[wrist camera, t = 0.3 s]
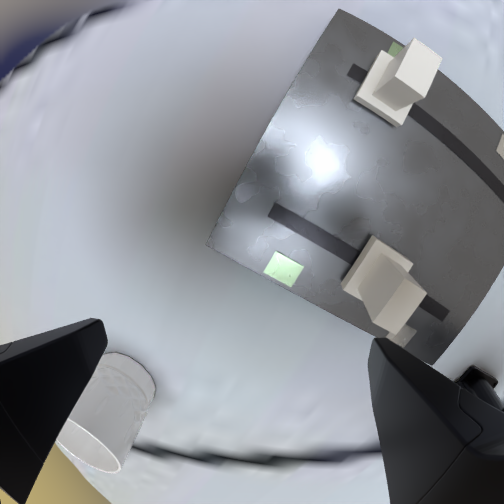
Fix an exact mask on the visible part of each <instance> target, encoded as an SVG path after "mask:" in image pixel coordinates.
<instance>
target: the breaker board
mask: <svg viewBox="0 0 504 504" xmlns="http://www.w3.org/2000/svg"><path fill="white" fill-rule="evenodd" d="M404 47H405V45H403V44H402V43H400V42H398V41H397V40H395V39H394V38H392V37H391V36H389V35H387V34H386V33H384V32H382V31H381V30H379V29H377V28H375V27H374V26H372V25H370V24H368V23H366V22H365V21H363V20H361V19H359V18H357V17H355V16H353V15H351V14H349V13H347V12H345V11H343V10H341V9H338V11H337V12H336V14H335V15H334V17H333V18H332V20H331V21H330V23H329V25H328V26H327V28H326V29H325V31H324V32H323V34H322V36H321V37H320V39H319V40H318V42H317V44H316V45H315V47H314V49H313V50H312V52H311V53H310V55H309V57H308V58H307V60H306V62H305V63H304V65H303V67H302V68H301V70H300V72H299V73H298V75H297V77H296V78H295V80H294V82H293V83H292V85H291V87H290V89H289V90H288V92H287V94H286V95H285V97H284V99H283V101H282V102H281V104H280V106H279V108H278V109H277V111H276V113H275V115H274V116H273V118H272V120H271V122H270V124H269V125H268V127H267V129H266V131H265V133H264V134H263V136H262V138H261V140H260V142H259V143H258V145H257V147H256V149H255V151H254V153H253V154H252V156H251V158H250V160H249V162H248V164H247V166H246V167H245V169H244V171H243V173H242V175H241V177H240V179H239V181H238V183H237V184H236V186H235V188H234V190H233V192H232V194H231V196H230V198H229V200H228V202H227V204H226V206H225V208H224V210H223V212H222V213H221V215H220V217H219V219H218V221H217V223H216V225H215V227H214V229H213V231H212V233H211V235H210V237H209V239H208V241H207V243H206V245H207V246H208V247H210V248H212V249H214V250H216V251H217V252H219V253H221V254H223V255H225V256H226V257H228V258H230V259H232V260H234V261H236V262H237V263H239V264H241V265H243V266H245V267H246V268H248V269H250V270H252V271H254V272H256V273H257V274H259V275H261V276H263V277H265V278H267V279H268V280H270V281H272V282H274V283H276V284H278V285H279V286H281V287H283V288H285V289H287V290H289V291H291V292H292V293H294V294H296V295H298V296H300V297H302V298H304V299H305V300H307V301H309V302H311V303H313V304H315V305H317V306H318V307H320V308H322V309H324V310H326V311H328V312H330V313H332V314H333V315H335V316H337V317H339V318H341V319H343V320H345V321H347V322H349V323H351V324H352V325H354V326H356V327H358V328H360V329H362V330H364V331H366V332H368V333H370V334H371V335H373V336H375V337H377V338H380V337H386V338H388V339H390V340H391V341H393V342H394V343H396V344H397V345H399V346H400V347H402V348H403V349H405V350H406V351H408V352H409V353H411V354H412V355H414V356H415V357H417V358H418V359H420V360H422V361H424V362H426V363H428V364H430V365H433V364H434V363H435V362H436V361H437V360H438V359H439V357H440V356H441V355H442V354H443V353H444V351H445V350H446V349H447V348H448V347H449V345H450V344H451V343H452V342H453V340H454V339H455V338H456V336H457V335H458V334H459V333H460V331H461V330H462V329H463V327H464V326H465V325H466V323H467V322H468V320H469V319H470V318H471V316H472V315H473V313H474V312H475V311H476V309H477V308H478V306H479V305H480V303H481V302H482V300H483V299H484V297H485V296H486V294H487V293H488V291H489V289H490V288H491V286H492V285H493V283H494V281H495V280H496V278H497V276H498V275H499V273H500V271H501V269H502V268H503V266H504V131H503V130H502V129H501V128H500V127H499V126H498V125H497V124H496V122H495V121H494V120H493V119H492V118H491V117H490V116H489V115H488V114H487V113H486V112H485V111H484V110H483V109H482V108H481V107H480V106H479V105H478V104H477V103H476V102H475V101H474V100H473V99H472V98H471V97H469V96H468V95H467V94H466V93H465V92H464V91H463V90H462V89H461V88H459V87H458V86H457V85H456V84H455V83H454V82H452V81H451V80H450V79H449V78H448V77H446V76H445V75H444V74H443V73H442V72H440V71H439V70H437V72H436V74H435V77H434V79H433V81H432V83H431V86H430V88H429V90H428V92H427V94H426V96H425V98H423V99H421V100H419V101H417V102H414V103H413V105H412V107H411V109H410V111H409V113H408V115H407V117H406V119H405V121H404V122H403V124H402V125H401V126H398V127H395V126H394V125H392V124H391V123H390V122H388V121H387V120H385V119H384V118H382V117H381V116H379V115H378V114H376V113H375V112H373V111H372V110H370V109H368V108H367V107H365V106H364V105H362V104H360V103H359V102H357V101H356V100H354V97H355V95H356V93H357V91H358V90H359V88H360V86H361V84H362V82H363V81H364V79H365V77H366V75H367V73H368V71H369V70H370V68H371V66H372V64H373V62H374V60H375V59H376V57H377V55H378V54H379V53H380V51H381V50H383V51H384V52H386V53H387V54H389V55H391V56H392V57H395V56H396V55H397V54H398V53H399V52H400V51H401V50H402V49H403V48H404ZM372 235H373V236H375V237H376V238H378V239H379V240H381V241H382V242H384V243H385V244H387V245H388V246H390V247H391V248H393V249H394V250H396V251H397V252H399V253H400V254H402V255H403V256H405V257H406V258H408V259H409V260H410V261H411V262H412V263H413V266H412V267H411V269H410V270H409V272H408V273H409V274H410V275H411V276H412V277H413V278H414V279H415V280H416V281H417V283H418V284H419V285H420V286H421V287H422V288H423V289H424V290H425V291H426V292H427V294H426V296H425V297H424V299H423V300H422V301H421V303H420V304H419V306H418V307H417V308H416V310H415V311H414V312H413V314H412V315H411V316H410V318H409V319H408V320H407V322H406V323H405V324H404V325H403V327H402V328H401V329H400V331H399V332H398V333H397V334H396V335H395V334H393V333H391V332H389V331H387V330H386V329H384V328H382V327H380V326H378V325H376V324H375V323H373V322H372V320H371V318H370V315H369V313H368V311H367V309H366V307H365V305H364V302H363V301H361V300H360V299H358V298H356V297H354V296H353V295H351V294H349V293H347V292H346V291H344V290H343V289H342V286H341V282H342V281H343V279H344V278H345V276H346V275H347V273H348V272H349V270H350V269H351V267H352V266H353V264H354V263H355V261H356V260H357V258H358V257H359V255H360V254H361V252H362V250H363V249H364V247H365V246H366V244H367V243H368V241H369V239H370V238H371V236H372Z"/></svg>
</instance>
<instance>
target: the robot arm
mask: <svg viewBox="0 0 504 504" xmlns="http://www.w3.org/2000/svg"><path fill="white" fill-rule="evenodd" d="M107 344H108V339H107V335H106V332H105V328H104V324H103V322H102V321H101V320H100V319H95V318H90V319H86V320H83V321H80V322H77V323H73V324H70V325H67V326H64V327H60V328H57V329H54V330H51V331H47V332H44V333H41V334H37V335H34V336H31V337H27V338H24V339H20V340H17V341H14V342H10V343H7V344H3V345H0V489H2V490H3V491H4V492H5V493H6V494H8V495H9V496H10V497H11V498H12V499H13V500H15V501H16V502H17V503H18V504H25V503H26V501H27V498H28V496H29V494H30V492H31V490H32V487H33V485H34V483H35V481H36V479H37V477H38V475H39V473H40V471H41V469H42V467H43V463H44V462H45V460H46V458H47V456H48V454H49V452H50V450H51V448H52V447H53V445H54V443H55V441H56V439H57V437H58V435H59V433H60V432H61V430H62V428H63V426H64V424H65V422H66V421H67V419H68V417H69V415H70V414H71V412H72V410H73V408H74V407H75V405H76V403H77V401H78V400H79V398H80V396H81V394H82V393H83V391H84V389H85V388H86V386H87V384H88V383H89V381H90V379H91V377H92V376H93V374H94V372H95V369H96V367H97V365H98V363H99V361H100V359H101V357H102V355H103V353H104V351H105V349H106V347H107ZM368 372H369V380H370V389H371V399H372V407H373V412H374V417H375V421H376V426H377V431H378V435H379V440H380V445H381V450H382V456H383V461H384V466H385V472H386V478H387V484H388V490H389V497H390V504H504V405H503V403H502V402H501V400H500V398H499V397H498V395H497V394H496V392H495V391H494V387H495V386H496V385H497V384H498V381H497V379H495V378H494V377H492V376H490V375H489V374H487V373H485V372H484V371H482V370H480V369H479V368H477V367H475V366H472V367H470V368H469V369H468V370H467V371H466V373H465V374H464V375H463V376H462V377H461V378H460V379H459V380H458V382H457V383H455V382H453V381H452V380H450V379H449V378H447V377H446V376H444V375H443V374H441V373H439V372H438V371H436V370H435V369H433V368H432V367H430V366H429V365H427V364H426V363H424V362H423V361H421V360H420V359H418V358H417V357H415V356H414V355H412V354H411V353H409V352H408V351H406V350H405V349H403V348H402V347H400V346H399V345H397V344H396V343H394V342H393V341H391V340H390V339H388V338H386V337H380V338H374V339H373V341H372V345H371V349H370V354H369V358H368ZM0 504H1V501H0Z"/></svg>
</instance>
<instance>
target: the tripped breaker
mask: <svg viewBox="0 0 504 504" xmlns="http://www.w3.org/2000/svg"><path fill="white" fill-rule="evenodd" d="M412 266H413V263H412V262H411V261H410V260H409V259H408V258H406V257H405V256H403V255H402V254H400V253H399V252H397V251H396V250H394V249H393V248H391V247H390V246H388V245H387V244H385V243H384V242H382V241H381V240H379V239H378V238H376V237H375V236H373V235H372V236H371V238H370V239H369V241H368V243H367V244H366V246H365V247H364V249H363V250H362V252H361V254H360V255H359V257H358V258H357V260H356V261H355V263H354V264H353V266H352V267H351V269H350V270H349V272H348V273H347V275H346V276H345V278H344V279H343V281H342V282H341V286H342V289H343V290H344V291H346V292H347V293H349V294H351V295H353V296H354V297H356V298H358V299H360V300H361V301H363V302H364V305H365V307H366V309H367V311H368V313H369V315H370V318H371V320H372V322H373V323H375V324H376V325H378V326H380V327H382V328H384V329H386V330H387V331H389V332H391V333H393V334H395V335H396V334H397V333H398V332H399V331H400V329H401V328H402V327H403V325H404V324H405V323H406V322H407V320H408V319H409V318H410V316H411V315H412V314H413V312H414V311H415V310H416V308H417V307H418V306H419V304H420V303H421V301H422V300H423V299H424V297H425V296H426V294H427V292H426V291H425V290H424V289H423V288H422V287H421V286H420V285H419V284H418V283H417V281H416V280H415V279H414V278H413V277H412V276H411V275H410V274H409V273H408V272H409V270H410V269H411V267H412Z"/></svg>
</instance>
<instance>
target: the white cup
mask: <svg viewBox="0 0 504 504" xmlns="http://www.w3.org/2000/svg"><path fill="white" fill-rule="evenodd" d="M155 389H156V388H155V385H154V382H153V380H152V377H151V376H150V375H149V373H148V372H147V371H146V370H145V369H144V368H143V366H142V365H140V364H139V363H137V362H136V361H134V360H133V359H131V358H130V357H128V356H125V355H122V354H119V353H116V352H115V353H108V354H104V355H103V356H102V357H101V359H100V361H99V363H98V365H97V367H96V369H95V372H94V374H93V376H92V377H91V379H90V381H89V383H88V384H87V386H86V388H85V389H84V391H83V393H82V394H81V396H80V398H79V400H78V401H77V403H76V405H75V407H74V408H73V410H72V412H71V414H70V415H69V417H68V419H67V421H66V422H65V424H64V426H63V428H62V430H61V432H60V433H59V435H58V437H57V439H56V441H57V442H58V443H59V444H60V445H61V446H62V447H63V448H65V449H66V450H67V451H68V452H69V453H71V454H72V455H73V456H75V457H76V458H77V459H79V460H80V461H82V462H84V463H85V464H87V465H89V466H91V467H93V468H95V469H98V470H100V471H103V472H107V473H118V472H120V471H121V468H122V466H123V464H124V462H125V460H126V458H127V455H128V453H129V451H130V449H131V447H132V445H133V443H134V441H135V439H136V437H137V435H138V432H139V430H140V428H141V425H142V423H143V421H144V419H145V417H146V414H147V410H148V408H149V406H150V404H151V402H152V400H153V398H154V394H155Z"/></svg>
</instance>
